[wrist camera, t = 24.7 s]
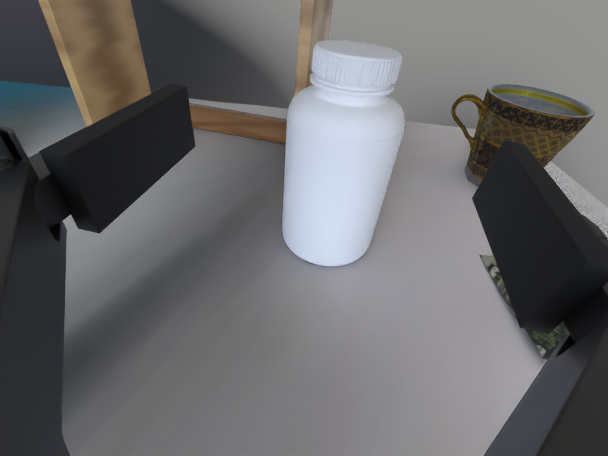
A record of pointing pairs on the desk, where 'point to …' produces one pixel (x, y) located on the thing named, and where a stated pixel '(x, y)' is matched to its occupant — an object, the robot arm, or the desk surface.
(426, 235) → the desk surface
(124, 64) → the open wooden shelf
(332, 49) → the pill bottle
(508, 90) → the ceramic cup
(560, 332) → the eiffel tower souvenir
